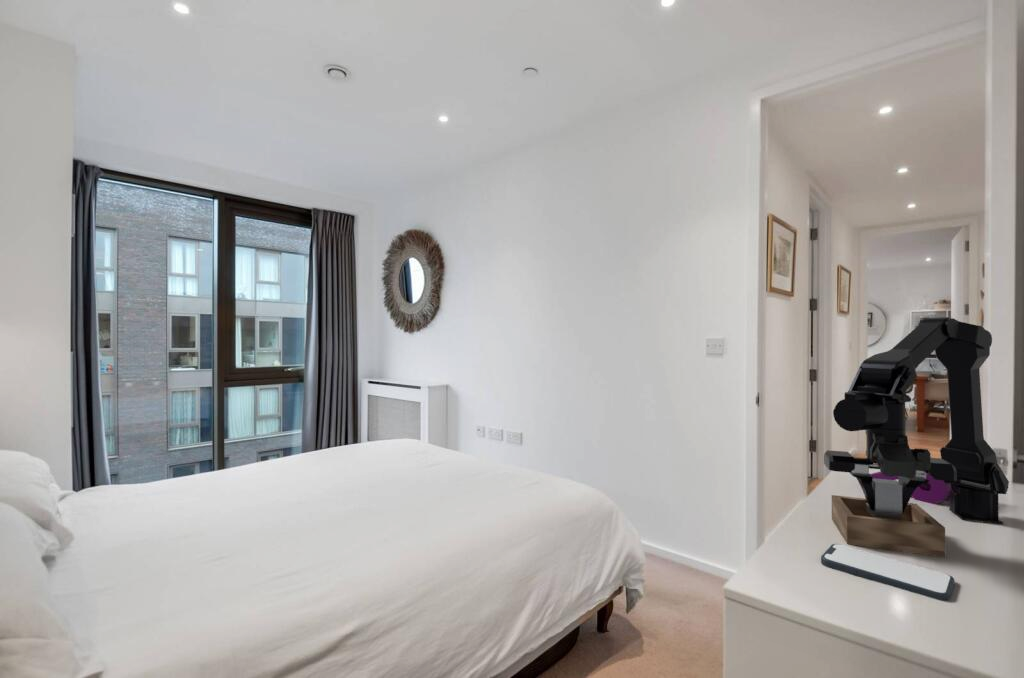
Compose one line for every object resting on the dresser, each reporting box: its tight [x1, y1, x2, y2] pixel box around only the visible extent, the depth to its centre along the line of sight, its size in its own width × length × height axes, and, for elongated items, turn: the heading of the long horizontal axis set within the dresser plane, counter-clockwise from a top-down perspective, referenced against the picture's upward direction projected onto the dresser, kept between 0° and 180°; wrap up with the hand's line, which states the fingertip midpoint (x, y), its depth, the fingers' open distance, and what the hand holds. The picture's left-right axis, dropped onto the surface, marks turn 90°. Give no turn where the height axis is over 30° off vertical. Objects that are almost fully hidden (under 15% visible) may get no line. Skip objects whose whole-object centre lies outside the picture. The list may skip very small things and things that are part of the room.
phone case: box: [820, 543, 955, 602], centre depth 77 cm, size 9×2×16 cm
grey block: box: [866, 478, 902, 521], centre depth 91 cm, size 4×6×7 cm, turn 157°
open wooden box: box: [831, 494, 946, 558], centre depth 91 cm, size 14×13×5 cm
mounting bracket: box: [870, 471, 953, 505], centre depth 116 cm, size 9×8×18 cm
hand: (886, 511), depth 90 cm, fingers closed on grey block, 4 cm apart
